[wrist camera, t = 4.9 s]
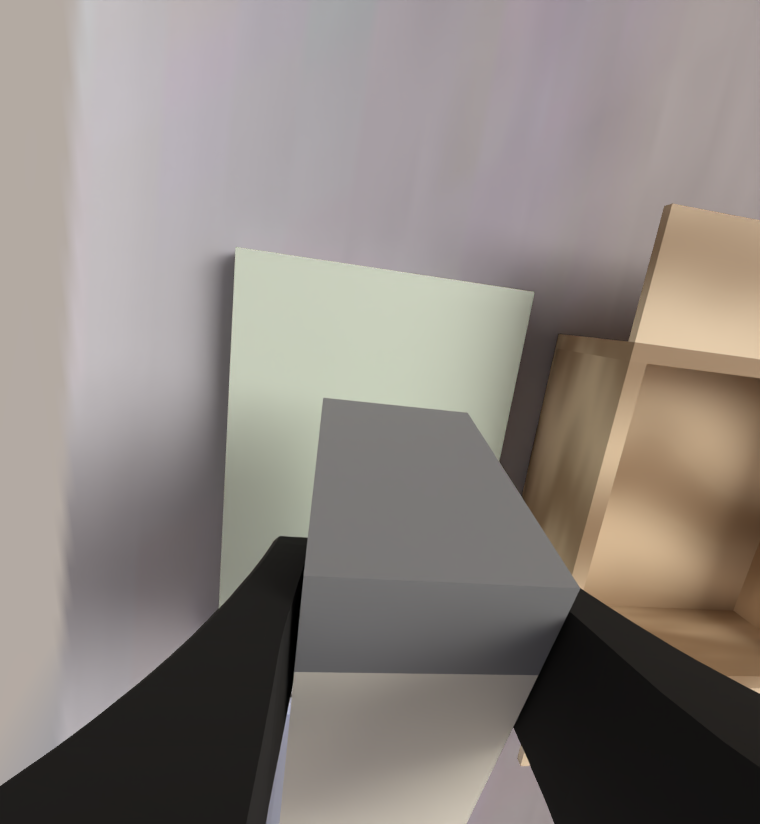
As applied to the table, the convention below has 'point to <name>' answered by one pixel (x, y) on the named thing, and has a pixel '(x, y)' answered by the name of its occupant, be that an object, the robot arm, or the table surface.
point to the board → (346, 375)
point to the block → (413, 619)
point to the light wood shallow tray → (666, 449)
